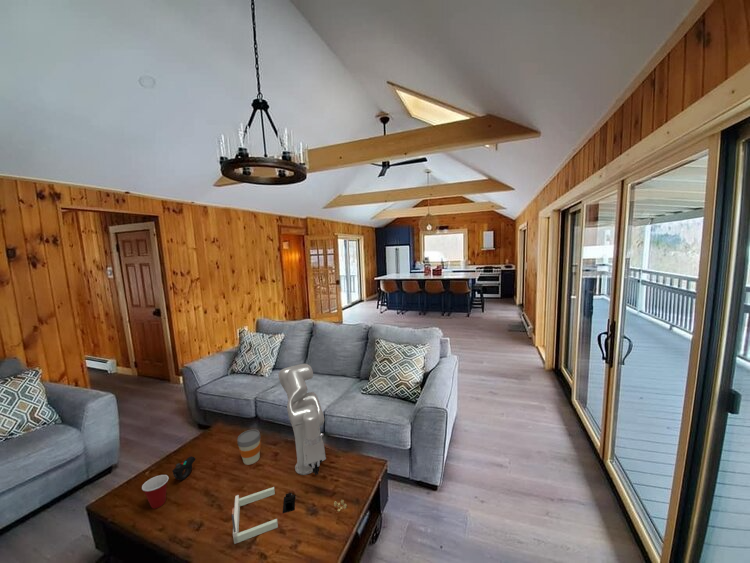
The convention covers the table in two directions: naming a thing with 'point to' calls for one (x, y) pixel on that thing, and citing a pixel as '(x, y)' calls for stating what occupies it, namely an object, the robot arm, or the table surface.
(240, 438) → the reusable coffee cup
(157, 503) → the plastic cup
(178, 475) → the controller
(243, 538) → the frame
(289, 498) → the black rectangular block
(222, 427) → the table surface
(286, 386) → the robot arm
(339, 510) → the dice set
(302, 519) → the table surface
